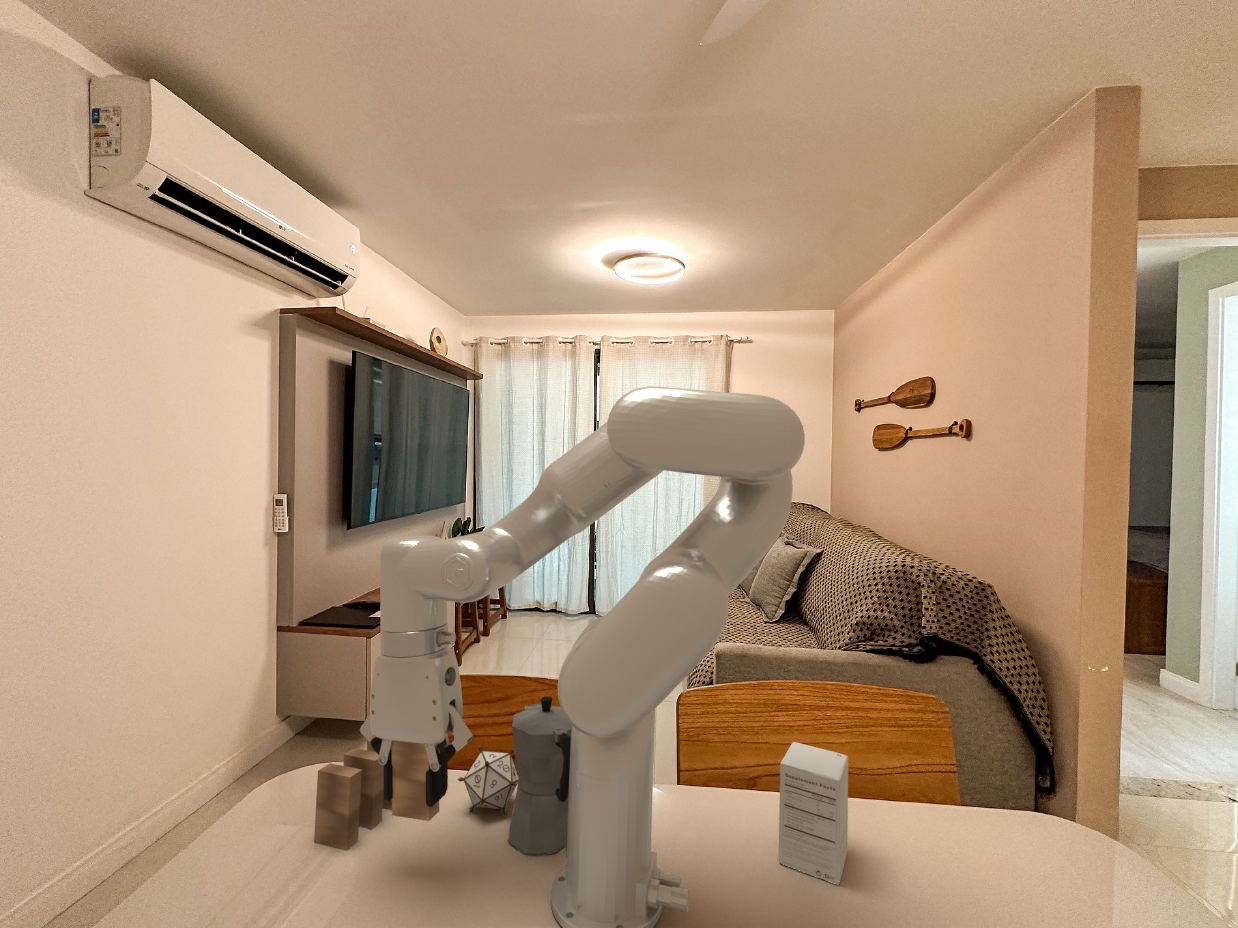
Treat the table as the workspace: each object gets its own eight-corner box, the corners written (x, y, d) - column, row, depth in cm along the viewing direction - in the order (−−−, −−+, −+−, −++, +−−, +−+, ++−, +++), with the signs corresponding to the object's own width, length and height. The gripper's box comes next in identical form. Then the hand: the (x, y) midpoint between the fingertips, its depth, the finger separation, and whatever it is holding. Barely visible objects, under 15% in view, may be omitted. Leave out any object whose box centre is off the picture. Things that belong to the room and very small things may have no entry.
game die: (501, 828, 81) (543, 764, 84) (483, 841, 73) (531, 771, 76) (456, 786, 83) (499, 726, 86) (435, 795, 76) (482, 729, 78)
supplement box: (790, 833, 76) (792, 739, 76) (848, 853, 72) (850, 754, 72) (776, 864, 69) (778, 761, 70) (839, 888, 65) (841, 779, 66)
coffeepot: (492, 816, 77) (498, 685, 78) (555, 799, 82) (559, 676, 83) (530, 887, 64) (536, 729, 65) (603, 863, 68) (608, 715, 69)
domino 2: (381, 820, 76) (385, 753, 76) (371, 829, 74) (375, 760, 74) (351, 813, 77) (354, 747, 77) (340, 822, 75) (344, 754, 75)
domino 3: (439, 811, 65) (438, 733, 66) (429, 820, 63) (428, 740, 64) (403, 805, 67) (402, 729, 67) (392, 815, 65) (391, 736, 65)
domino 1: (358, 840, 71) (361, 769, 72) (346, 850, 69) (350, 777, 70) (326, 832, 72) (329, 763, 73) (314, 842, 71) (317, 770, 71)
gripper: (494, 635, 67) (496, 789, 66) (375, 629, 72) (376, 773, 71) (460, 653, 60) (462, 826, 59) (331, 645, 65) (331, 805, 64)
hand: (415, 795), depth 65 cm, fingers closed on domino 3, 4 cm apart
